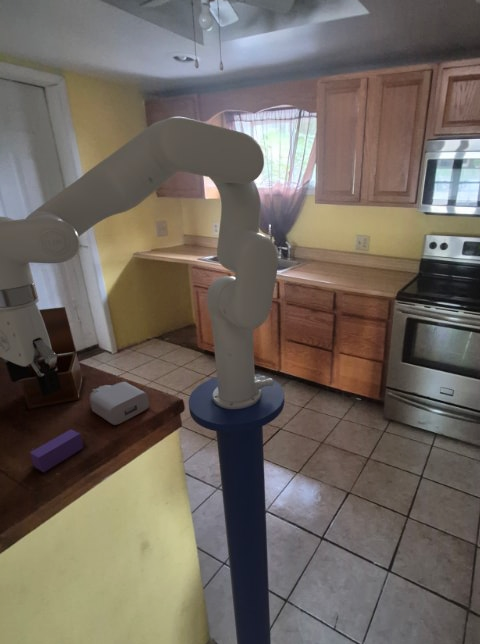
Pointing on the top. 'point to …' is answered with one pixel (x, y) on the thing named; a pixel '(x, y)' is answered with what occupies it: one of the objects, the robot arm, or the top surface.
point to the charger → (118, 402)
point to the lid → (58, 330)
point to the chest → (67, 376)
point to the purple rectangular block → (56, 450)
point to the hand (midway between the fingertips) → (36, 385)
